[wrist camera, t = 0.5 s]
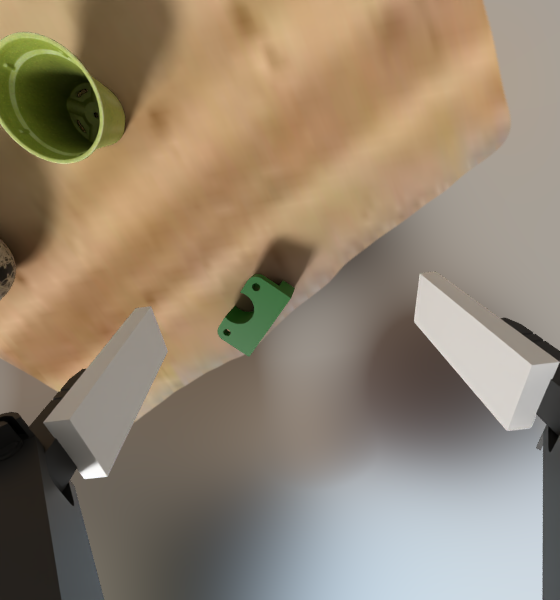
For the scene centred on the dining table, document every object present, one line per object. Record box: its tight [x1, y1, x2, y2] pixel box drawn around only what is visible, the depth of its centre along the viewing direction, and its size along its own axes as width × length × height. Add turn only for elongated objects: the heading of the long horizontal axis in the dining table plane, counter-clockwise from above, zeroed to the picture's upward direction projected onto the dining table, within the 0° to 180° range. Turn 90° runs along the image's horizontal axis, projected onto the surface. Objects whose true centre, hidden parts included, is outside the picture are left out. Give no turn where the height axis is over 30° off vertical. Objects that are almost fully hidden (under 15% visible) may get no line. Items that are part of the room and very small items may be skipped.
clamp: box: [218, 274, 295, 356], centre depth 42 cm, size 12×6×9 cm, turn 140°
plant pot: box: [0, 32, 125, 164], centre depth 29 cm, size 9×9×9 cm
